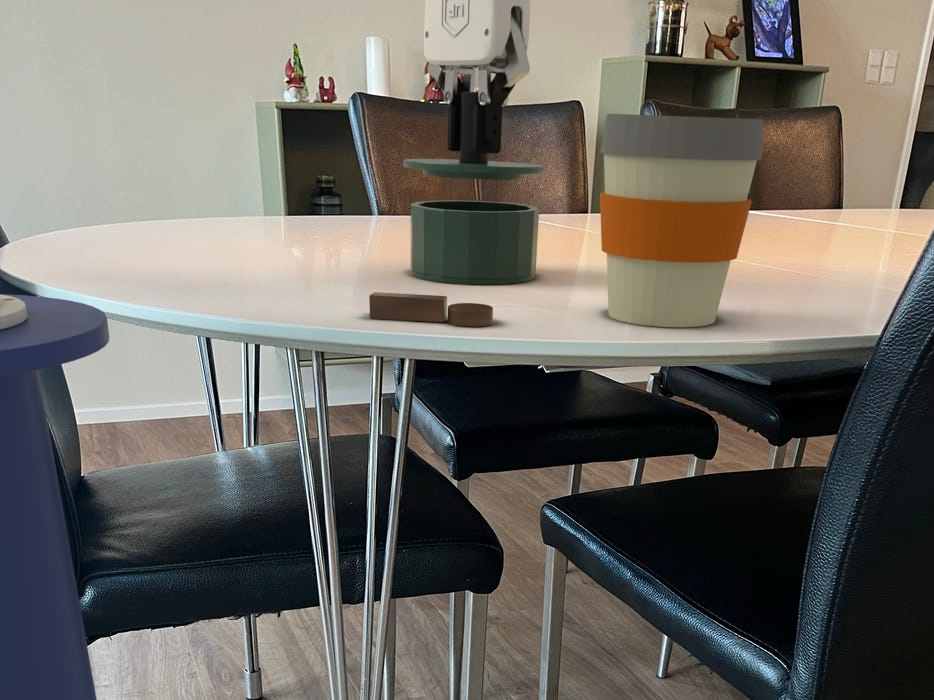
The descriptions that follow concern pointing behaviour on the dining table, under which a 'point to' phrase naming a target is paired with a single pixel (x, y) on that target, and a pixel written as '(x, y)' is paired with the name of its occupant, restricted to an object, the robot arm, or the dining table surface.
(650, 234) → the reusable coffee cup
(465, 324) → the wooden bar and disc
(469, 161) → the lid
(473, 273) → the tin
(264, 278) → the dining table surface
